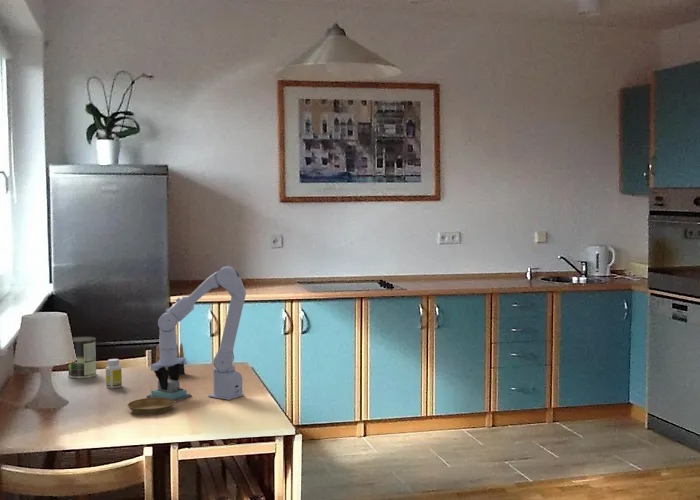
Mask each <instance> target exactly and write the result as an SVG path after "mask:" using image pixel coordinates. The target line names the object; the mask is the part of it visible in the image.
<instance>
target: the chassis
mask: <svg viewBox="0 0 700 500" xmlns="http://www.w3.org/2000/svg"><path fill="white" fill-rule="evenodd" d="M182 389H183V391H181V390H180V391H177V392H173V393H168V392H162V391H158V388H157V389H156V388H155V389H153V390H151V394H147V395H146V398H168V399H172V400H174V401H175V402H178V400H179V401H181V399H182V400H186V399H188V398H191V397H193V396H192V394H191V393H187V389H185V388H182Z"/></svg>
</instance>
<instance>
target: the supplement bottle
mask: <svg viewBox="0 0 700 500" xmlns="http://www.w3.org/2000/svg"><path fill="white" fill-rule="evenodd" d="M122 374H123V373H122V366H121V365H120V359H119V358H109V359H107V366H106V367H105V385H106V386H105V387H106V388H108V389H117V388H118V389H119V388H122V385H123V380H122V379H123V378H122V377H123V376H122Z"/></svg>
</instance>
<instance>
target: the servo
mask: <svg viewBox="0 0 700 500" xmlns="http://www.w3.org/2000/svg"><path fill="white" fill-rule="evenodd" d="M157 389H158V391H162V392H168V393H173V392H177V391H180V390H181V391H183V389H184V388H180V380H178V381H177V380H171V379H170V378H168V386H167V390H162V389H161V386H160V383H159V380H158V381H157Z"/></svg>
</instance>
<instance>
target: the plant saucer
mask: <svg viewBox="0 0 700 500" xmlns="http://www.w3.org/2000/svg"><path fill="white" fill-rule="evenodd" d="M175 403H176V401H174V400H172V399H168V398H147V397H146V398H140V399H135V400H132V401H129V402H128V403H127V407H128V408H129V409H130V410H131V412H133V413H134V414H137V415H143V416H145V415H147V416H148V415H150V414H153V415H158V414H159V413H160V414H164V413H166V411H167V412H168V411H169V410H171V408H172V407H173V406H175ZM163 412H164V413H163Z"/></svg>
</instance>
